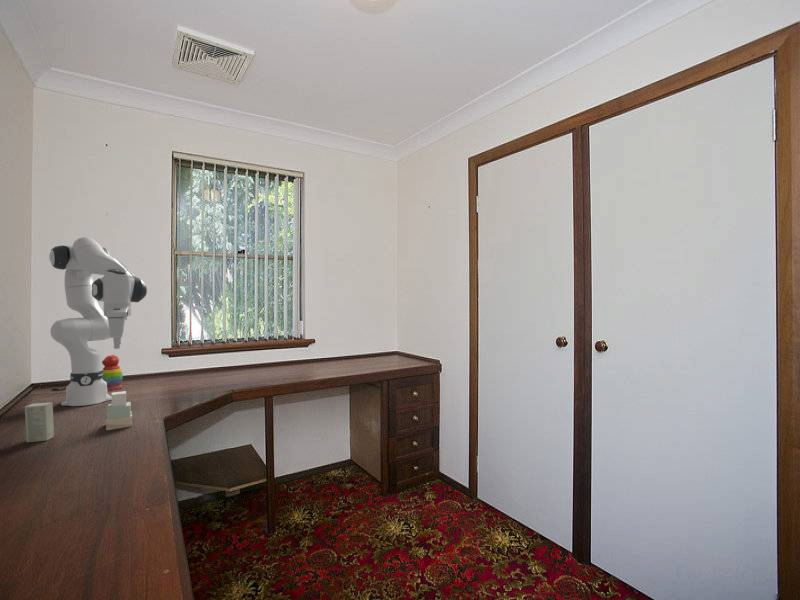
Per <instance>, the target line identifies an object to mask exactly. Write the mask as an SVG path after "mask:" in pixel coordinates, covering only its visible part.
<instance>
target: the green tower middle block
mask: <svg viewBox="0 0 800 600" xmlns="http://www.w3.org/2000/svg"><path fill="white" fill-rule="evenodd" d="M131 408H132V403H131V401H126V405H125V406H117V407H112V403H108V405H107V409H106V410H107V411H106V413H107V414H106V416H107V419H113V418H121V417H128V416H130V414H131V411H132V409H131Z"/></svg>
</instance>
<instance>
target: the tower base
mask: <svg viewBox="0 0 800 600" xmlns="http://www.w3.org/2000/svg"><path fill="white" fill-rule="evenodd" d="M129 427H130V428H131V427H133V412H132V410H131V414H130V416H128V417H121V418H113V419H107V415H106V418H105V430H106V431H111V430H117V429H122V428H129Z"/></svg>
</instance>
